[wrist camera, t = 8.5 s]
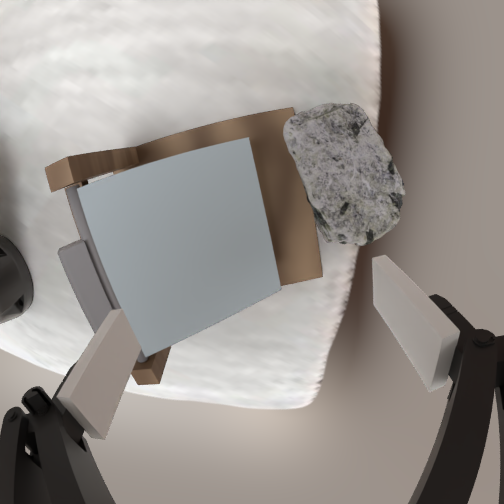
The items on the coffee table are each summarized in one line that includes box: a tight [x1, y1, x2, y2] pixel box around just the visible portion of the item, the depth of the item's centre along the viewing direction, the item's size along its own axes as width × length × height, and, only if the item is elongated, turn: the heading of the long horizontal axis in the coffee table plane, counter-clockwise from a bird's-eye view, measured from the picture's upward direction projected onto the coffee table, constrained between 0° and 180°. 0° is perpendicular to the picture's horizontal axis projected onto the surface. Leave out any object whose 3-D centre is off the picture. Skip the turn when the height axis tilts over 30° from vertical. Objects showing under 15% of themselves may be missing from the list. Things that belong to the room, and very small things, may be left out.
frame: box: [45, 107, 323, 385], centre depth 28 cm, size 22×21×15 cm
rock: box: [283, 103, 405, 246], centre depth 30 cm, size 15×10×7 cm
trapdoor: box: [58, 137, 281, 363], centre depth 25 cm, size 19×17×2 cm
